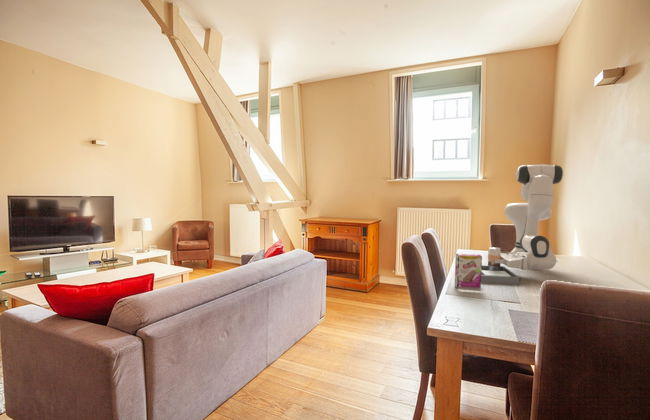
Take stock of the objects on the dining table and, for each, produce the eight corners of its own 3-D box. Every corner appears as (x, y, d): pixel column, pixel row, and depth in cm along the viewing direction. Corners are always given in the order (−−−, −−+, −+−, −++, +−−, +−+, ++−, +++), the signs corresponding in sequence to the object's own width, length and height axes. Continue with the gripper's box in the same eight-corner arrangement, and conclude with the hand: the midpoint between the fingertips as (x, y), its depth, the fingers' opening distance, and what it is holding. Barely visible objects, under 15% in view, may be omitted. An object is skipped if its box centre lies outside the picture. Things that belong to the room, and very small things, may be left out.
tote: (469, 272, 190) (469, 264, 190) (503, 274, 187) (503, 266, 186) (479, 284, 167) (479, 275, 167) (518, 286, 163) (519, 277, 163)
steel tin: (486, 271, 185) (486, 247, 184) (498, 272, 183) (498, 247, 183) (489, 274, 179) (489, 249, 178) (501, 275, 178) (502, 249, 177)
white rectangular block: (480, 276, 178) (480, 270, 178) (504, 277, 175) (504, 271, 175) (485, 281, 168) (485, 274, 168) (510, 283, 166) (511, 276, 165)
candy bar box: (457, 289, 160) (458, 255, 159) (454, 285, 165) (455, 253, 164) (481, 289, 159) (482, 255, 158) (477, 286, 164) (478, 253, 163)
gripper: (513, 250, 188) (487, 250, 191) (527, 258, 168) (498, 257, 171) (513, 261, 188) (487, 261, 191) (527, 270, 168) (497, 269, 171)
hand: (492, 259), depth 181 cm, fingers closed on steel tin, 6 cm apart
